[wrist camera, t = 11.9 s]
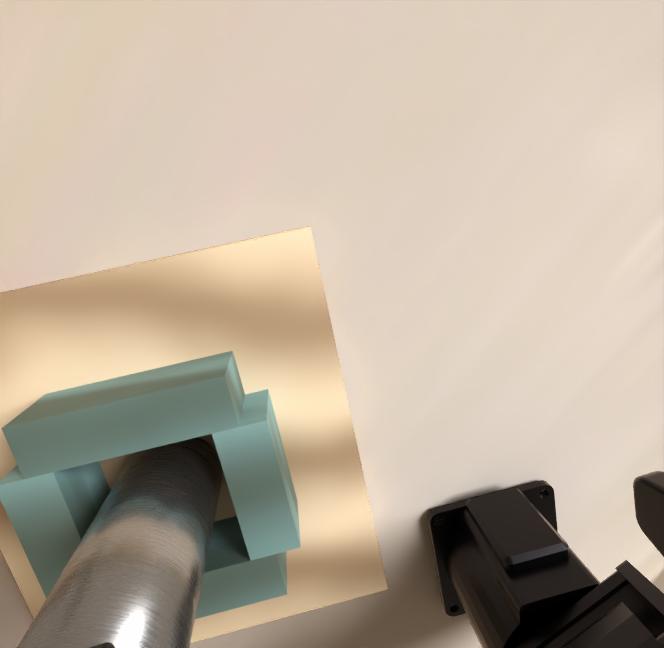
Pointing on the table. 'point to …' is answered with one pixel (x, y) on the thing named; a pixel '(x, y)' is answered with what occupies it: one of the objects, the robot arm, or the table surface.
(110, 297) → the socket board
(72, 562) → the steel pin
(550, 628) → the robot arm
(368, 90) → the table surface
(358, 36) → the table surface
